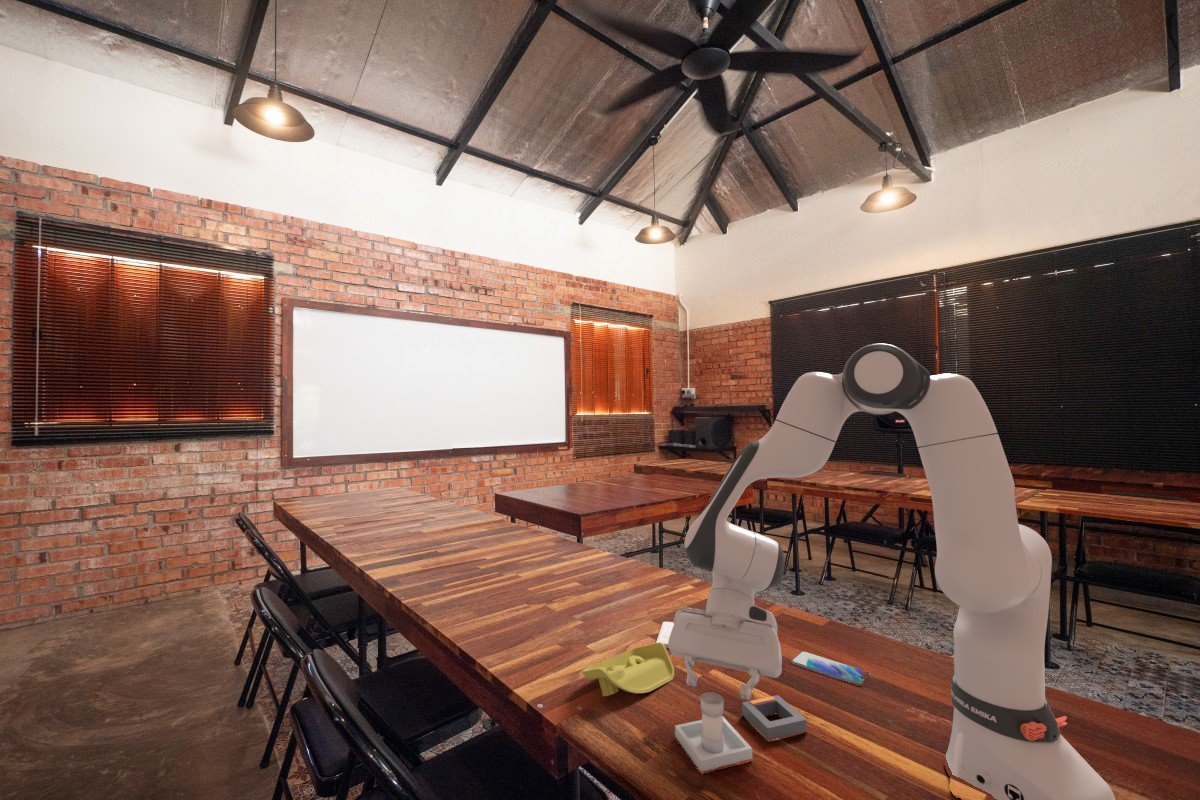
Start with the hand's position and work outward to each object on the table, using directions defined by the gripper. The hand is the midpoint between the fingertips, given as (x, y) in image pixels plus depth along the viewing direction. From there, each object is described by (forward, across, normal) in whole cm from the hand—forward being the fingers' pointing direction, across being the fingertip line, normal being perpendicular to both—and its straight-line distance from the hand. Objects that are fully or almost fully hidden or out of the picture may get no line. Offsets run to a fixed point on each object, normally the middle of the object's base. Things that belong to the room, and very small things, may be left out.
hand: (717, 691), depth 89 cm
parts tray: (+8, 0, +4) cm, 9 cm away
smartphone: (-18, +16, +31) cm, 40 cm away
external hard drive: (-18, -20, +31) cm, 41 cm away
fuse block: (0, +8, +12) cm, 15 cm away
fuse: (+8, 0, +4) cm, 8 cm away
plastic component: (-1, -22, +13) cm, 26 cm away
